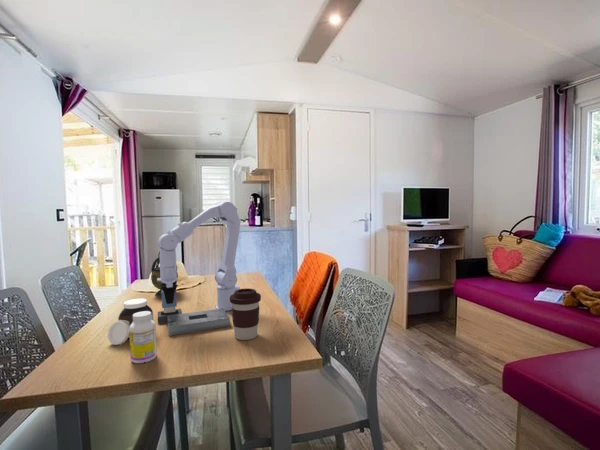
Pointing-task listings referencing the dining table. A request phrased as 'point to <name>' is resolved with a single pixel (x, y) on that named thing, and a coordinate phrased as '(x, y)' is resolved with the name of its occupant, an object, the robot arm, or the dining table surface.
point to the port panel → (197, 321)
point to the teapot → (157, 276)
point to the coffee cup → (245, 313)
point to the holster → (163, 316)
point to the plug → (169, 307)
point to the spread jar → (127, 320)
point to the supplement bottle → (142, 338)
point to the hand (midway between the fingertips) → (169, 302)
